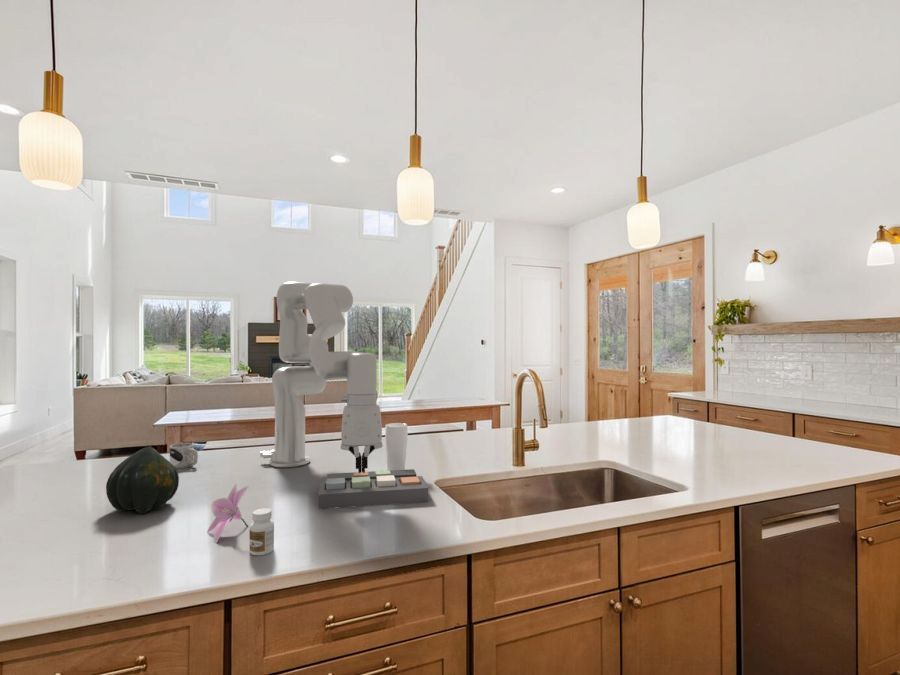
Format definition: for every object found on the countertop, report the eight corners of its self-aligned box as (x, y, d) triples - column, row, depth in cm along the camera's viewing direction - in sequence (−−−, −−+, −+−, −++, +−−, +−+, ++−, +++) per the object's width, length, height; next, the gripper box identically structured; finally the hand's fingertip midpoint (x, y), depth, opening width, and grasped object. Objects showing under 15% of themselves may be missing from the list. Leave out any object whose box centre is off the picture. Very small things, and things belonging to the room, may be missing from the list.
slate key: (325, 493, 119) (326, 484, 119) (326, 488, 123) (326, 478, 123) (344, 492, 120) (344, 483, 120) (344, 486, 124) (344, 477, 124)
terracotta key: (402, 491, 123) (402, 482, 123) (400, 486, 127) (400, 477, 127) (419, 490, 124) (420, 481, 124) (417, 485, 128) (417, 476, 128)
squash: (110, 503, 102) (158, 442, 111) (80, 493, 110) (127, 437, 119) (162, 530, 111) (203, 472, 120) (131, 519, 119) (171, 465, 128)
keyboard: (318, 509, 115) (318, 491, 115) (321, 488, 130) (321, 472, 130) (428, 501, 121) (428, 484, 121) (418, 482, 136) (418, 467, 136)
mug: (164, 467, 150) (164, 446, 150) (183, 462, 156) (183, 442, 156) (187, 470, 146) (187, 449, 146) (205, 465, 153) (205, 444, 153)
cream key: (377, 490, 121) (377, 481, 121) (376, 485, 126) (376, 476, 126) (395, 489, 122) (395, 480, 122) (393, 484, 127) (393, 475, 127)
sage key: (352, 492, 120) (352, 482, 120) (351, 486, 125) (351, 477, 125) (370, 491, 121) (370, 481, 121) (369, 485, 126) (369, 476, 126)
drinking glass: (403, 477, 141) (403, 427, 141) (381, 476, 142) (382, 426, 142) (409, 471, 147) (410, 423, 147) (389, 470, 149) (389, 422, 149)
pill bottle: (244, 553, 91) (244, 513, 91) (261, 544, 95) (261, 505, 95) (262, 557, 89) (262, 516, 89) (278, 548, 93) (278, 508, 93)
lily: (215, 525, 107) (194, 494, 103) (266, 501, 110) (248, 470, 106) (212, 564, 97) (189, 531, 93) (269, 536, 100) (249, 503, 96)
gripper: (331, 403, 118) (331, 477, 117) (392, 401, 121) (391, 473, 121) (332, 399, 125) (332, 469, 125) (389, 398, 128) (389, 466, 128)
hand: (361, 471), depth 123 cm, fingers closed
